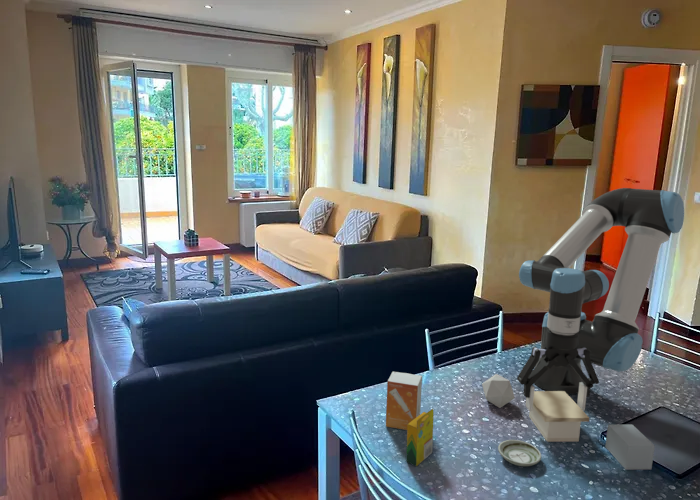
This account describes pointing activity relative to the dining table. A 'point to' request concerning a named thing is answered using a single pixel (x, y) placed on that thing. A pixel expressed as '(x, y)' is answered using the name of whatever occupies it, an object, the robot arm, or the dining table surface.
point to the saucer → (519, 452)
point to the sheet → (557, 407)
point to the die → (498, 390)
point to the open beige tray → (556, 429)
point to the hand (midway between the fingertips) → (554, 408)
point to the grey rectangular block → (630, 447)
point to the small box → (403, 399)
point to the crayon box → (420, 438)
